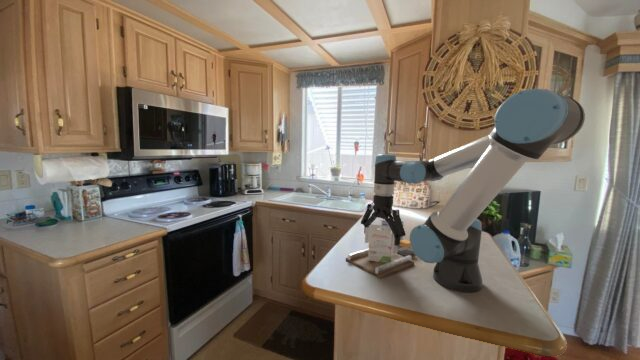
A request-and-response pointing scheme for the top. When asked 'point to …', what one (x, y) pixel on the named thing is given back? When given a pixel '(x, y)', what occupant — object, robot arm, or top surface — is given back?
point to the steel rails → (382, 267)
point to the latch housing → (405, 251)
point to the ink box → (380, 244)
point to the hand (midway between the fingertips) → (380, 247)
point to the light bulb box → (384, 223)
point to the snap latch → (405, 243)
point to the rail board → (371, 265)
